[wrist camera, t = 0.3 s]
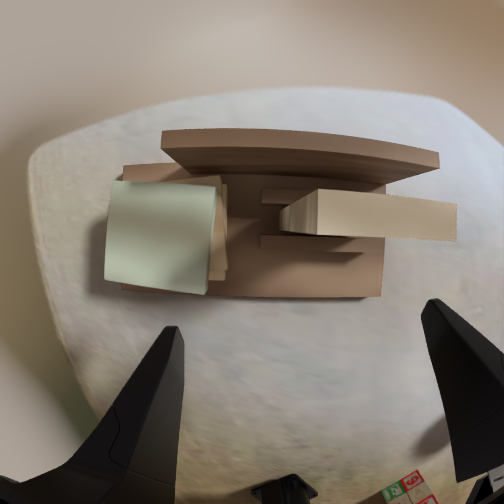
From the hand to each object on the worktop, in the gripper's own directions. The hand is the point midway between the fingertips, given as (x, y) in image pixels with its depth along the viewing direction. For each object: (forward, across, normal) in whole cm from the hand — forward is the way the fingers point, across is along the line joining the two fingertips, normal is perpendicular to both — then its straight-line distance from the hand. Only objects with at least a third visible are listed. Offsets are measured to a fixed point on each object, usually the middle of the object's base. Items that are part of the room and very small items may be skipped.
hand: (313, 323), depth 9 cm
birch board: (+13, -3, +4) cm, 14 cm away
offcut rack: (+14, +2, +6) cm, 15 cm away
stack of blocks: (-11, -21, +44) cm, 50 cm away
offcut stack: (+13, +8, +4) cm, 16 cm away
